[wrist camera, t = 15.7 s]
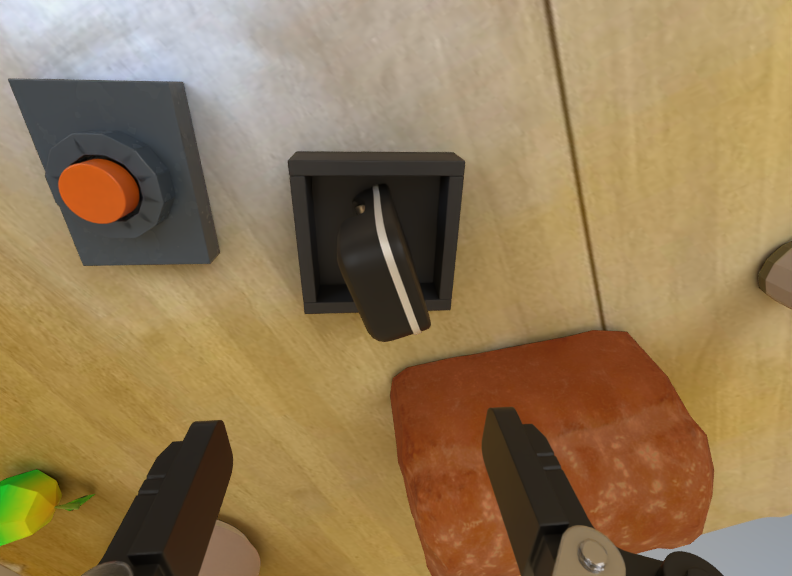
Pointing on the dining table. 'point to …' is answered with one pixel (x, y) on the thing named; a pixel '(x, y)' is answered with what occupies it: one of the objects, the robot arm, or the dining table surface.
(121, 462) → the dining table surface
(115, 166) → the power button
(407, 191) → the dock
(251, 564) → the container
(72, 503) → the apple
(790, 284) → the bottle
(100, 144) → the switch box
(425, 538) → the bread
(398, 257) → the battery charger
